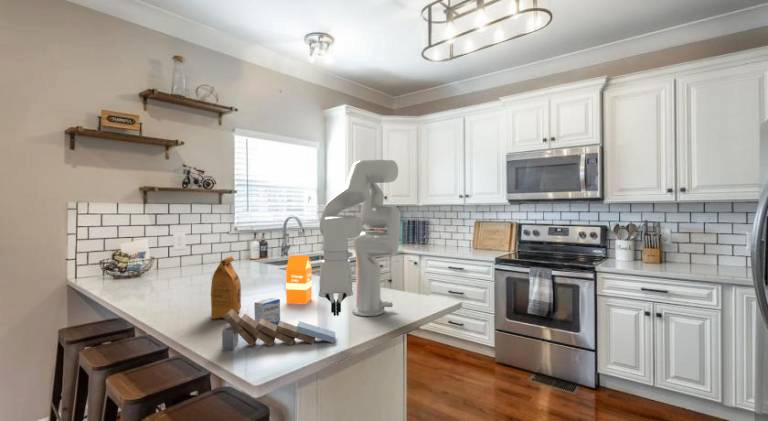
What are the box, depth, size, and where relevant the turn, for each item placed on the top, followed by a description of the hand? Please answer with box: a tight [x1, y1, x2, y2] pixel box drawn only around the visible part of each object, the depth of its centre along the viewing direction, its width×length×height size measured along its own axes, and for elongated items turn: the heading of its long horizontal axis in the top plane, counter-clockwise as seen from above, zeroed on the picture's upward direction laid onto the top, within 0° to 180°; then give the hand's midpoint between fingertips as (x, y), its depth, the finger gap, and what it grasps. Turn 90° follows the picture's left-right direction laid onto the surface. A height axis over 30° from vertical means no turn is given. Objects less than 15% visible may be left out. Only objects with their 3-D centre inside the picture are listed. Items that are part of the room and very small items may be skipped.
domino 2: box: [238, 313, 276, 347], centre depth 118 cm, size 2×5×12 cm
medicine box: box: [253, 297, 281, 325], centre depth 136 cm, size 8×4×9 cm, turn 148°
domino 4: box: [276, 320, 316, 345], centre depth 119 cm, size 2×5×12 cm
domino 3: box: [256, 318, 296, 346], centre depth 119 cm, size 2×5×12 cm
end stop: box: [221, 322, 239, 352], centre depth 116 cm, size 3×7×6 cm, turn 9°
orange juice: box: [285, 254, 313, 305], centre depth 168 cm, size 8×9×20 cm
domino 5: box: [296, 320, 336, 344], centre depth 120 cm, size 2×5×12 cm
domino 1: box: [222, 309, 259, 347], centre depth 117 cm, size 2×5×12 cm
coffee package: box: [210, 255, 242, 320], centre depth 148 cm, size 10×12×22 cm
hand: (336, 314), depth 121 cm, fingers closed
